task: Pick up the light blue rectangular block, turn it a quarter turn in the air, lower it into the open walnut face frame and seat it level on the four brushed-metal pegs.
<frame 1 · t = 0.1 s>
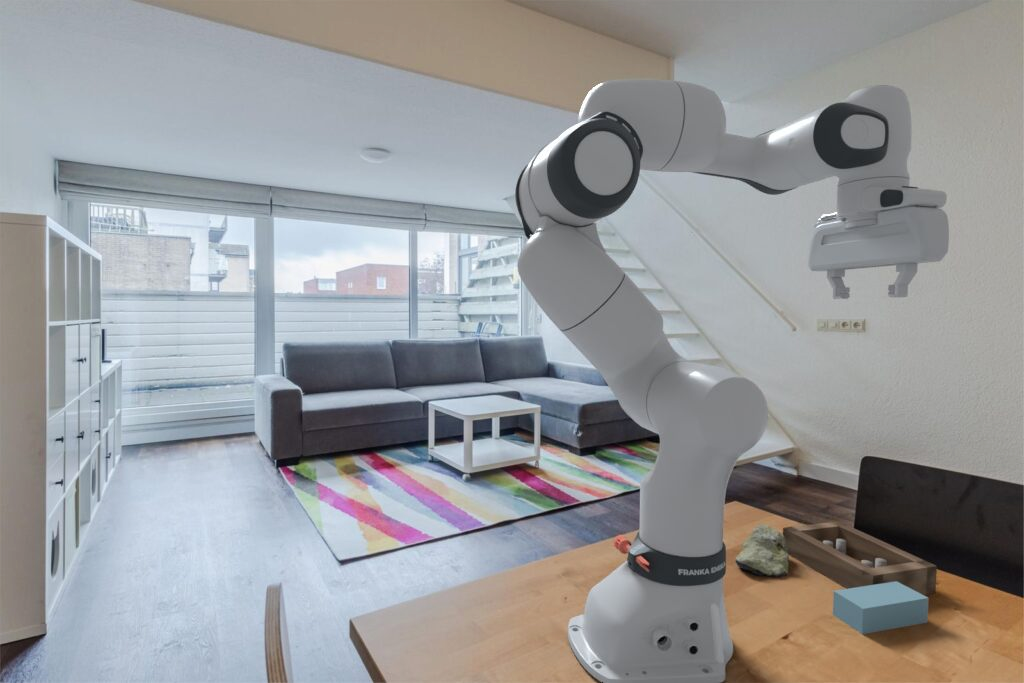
hand: (867, 298, 79), 48 cm above the table, fingers open, 8 cm apart
rock: (761, 565, 97), on the table
light blue rectangular block: (879, 620, 79), on the table
frame: (852, 570, 94), on the table
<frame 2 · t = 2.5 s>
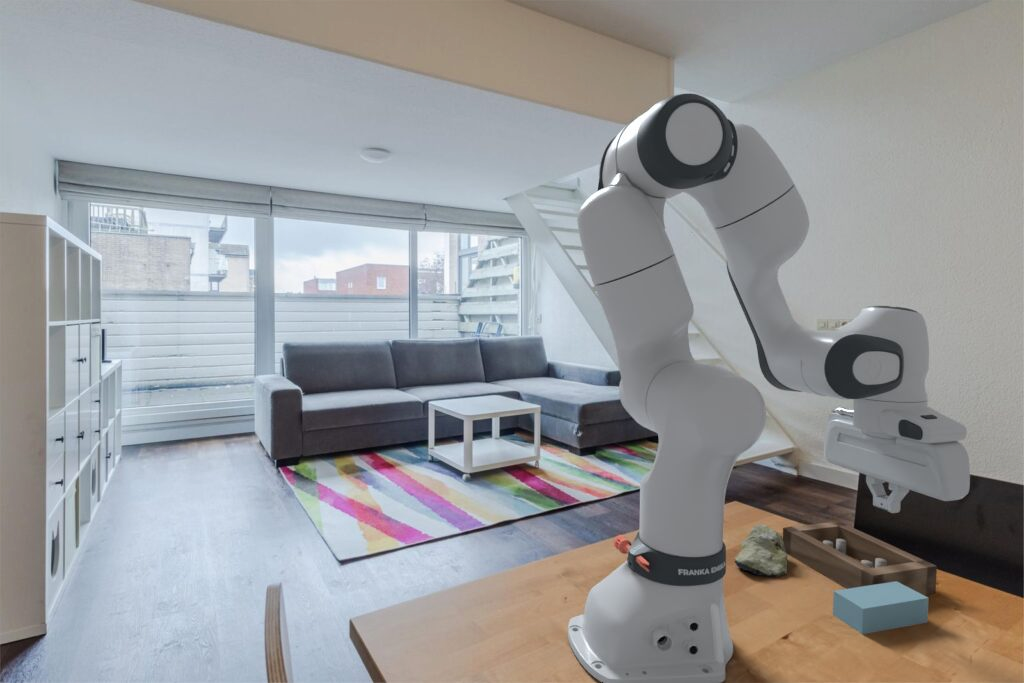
hand: (886, 509, 79), 17 cm above the table, fingers closed
nothing on the table moved.
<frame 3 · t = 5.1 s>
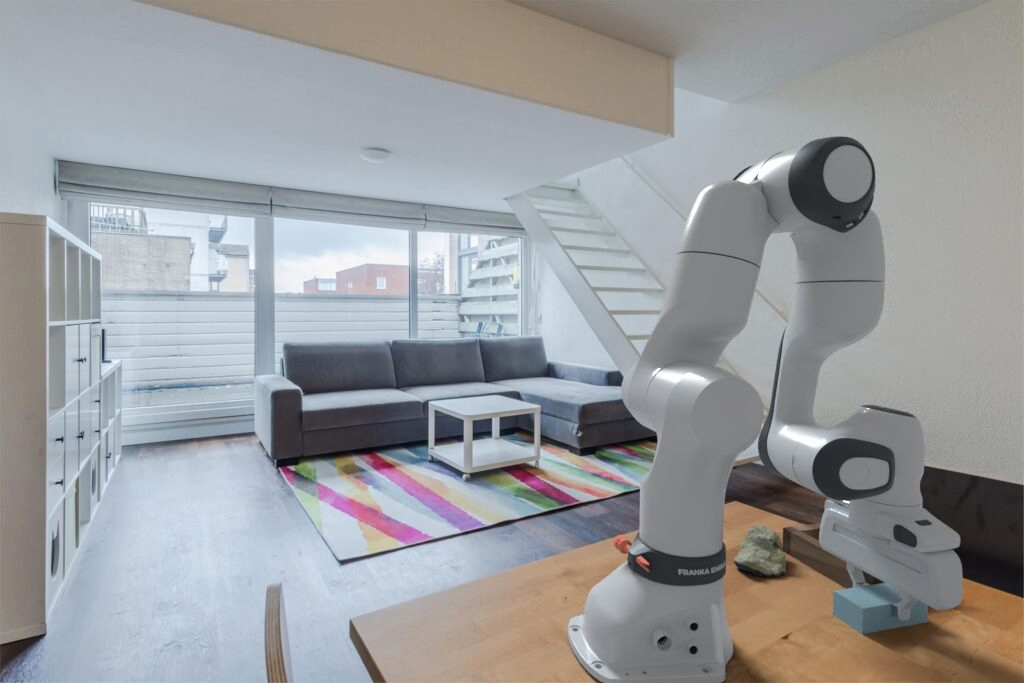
hand: (880, 605, 79), 2 cm above the table, fingers closed on light blue rectangular block, 5 cm apart
light blue rectangular block: (879, 620, 80), on the table, touching gripper
everything else where it was.
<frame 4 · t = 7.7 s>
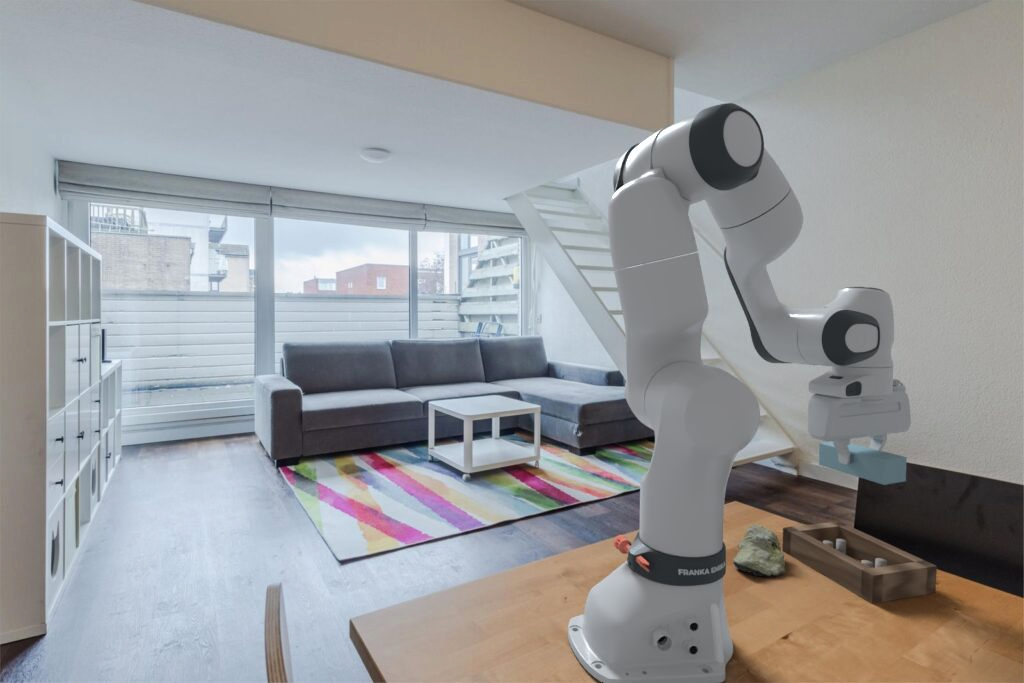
hand: (859, 461, 92), 20 cm above the table, fingers closed on light blue rectangular block, 5 cm apart
light blue rectangular block: (860, 472, 92), point 18 cm above the table, touching gripper
everything else where it was.
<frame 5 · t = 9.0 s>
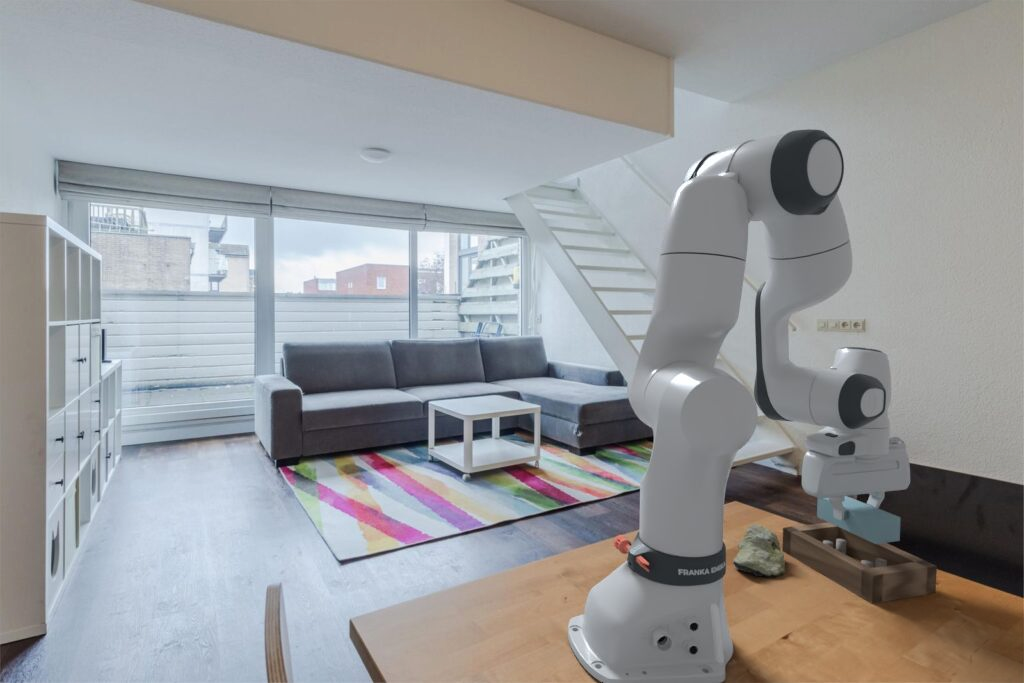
hand: (855, 517, 94), 10 cm above the table, fingers closed on light blue rectangular block, 5 cm apart
light blue rectangular block: (856, 528, 94), point 8 cm above the table, touching gripper
everything else where it was.
when the fingers open (6 cm above the table, at t = 10.0 s): light blue rectangular block drops 1 cm, resting on frame.
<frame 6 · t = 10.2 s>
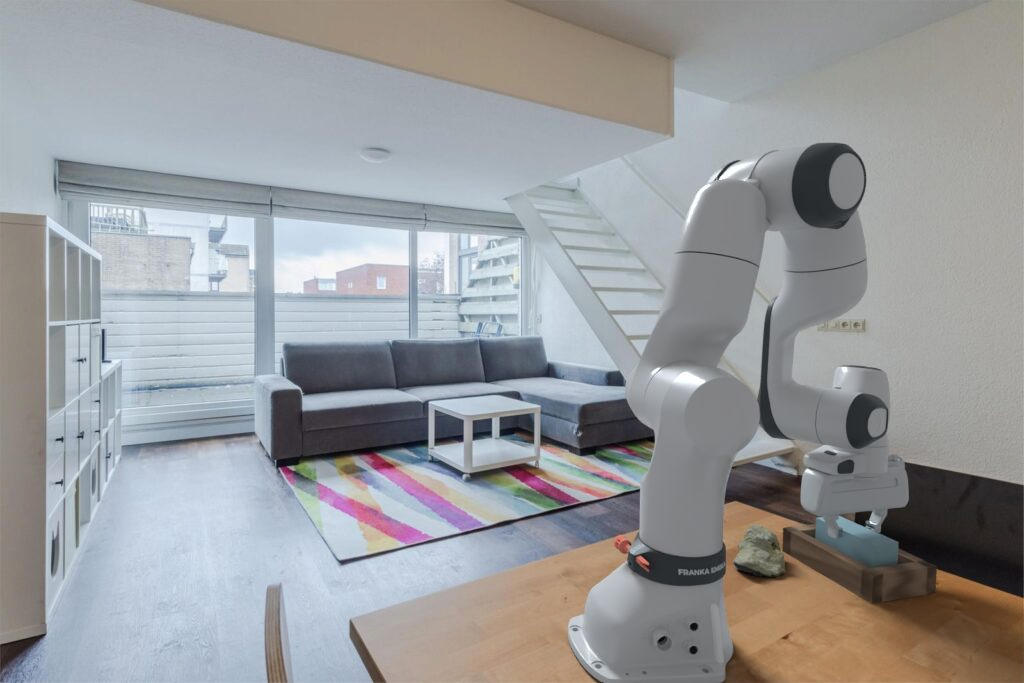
hand: (854, 534, 94), 6 cm above the table, fingers open, 7 cm apart
light blue rectangular block: (854, 551, 94), point 3 cm above the table, touching frame
everything else where it was.
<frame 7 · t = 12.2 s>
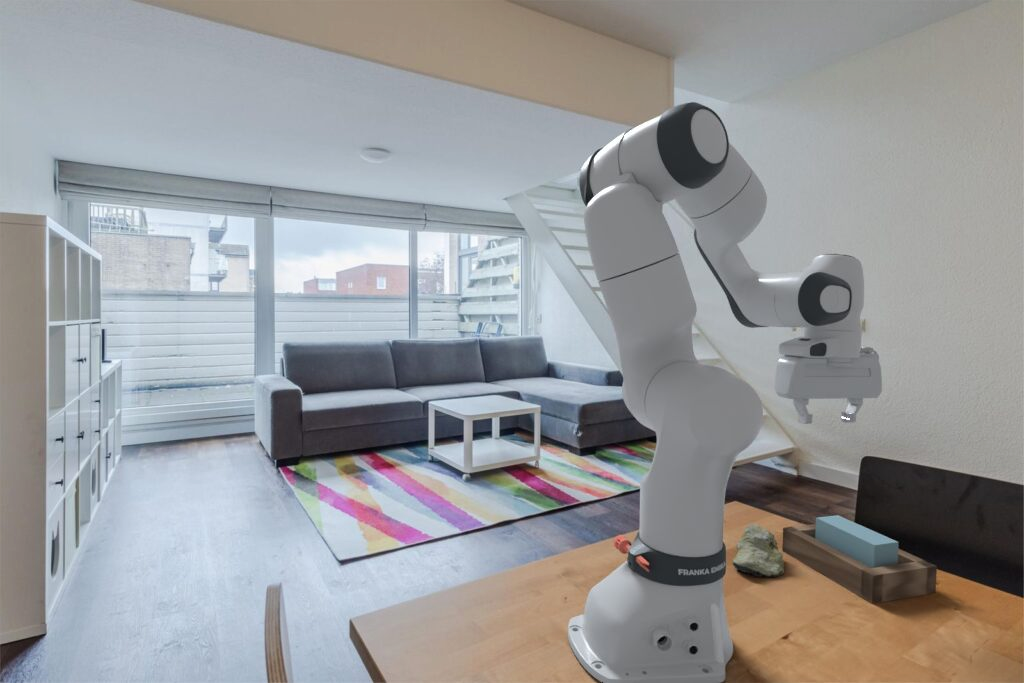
hand: (826, 422, 96), 26 cm above the table, fingers open, 8 cm apart
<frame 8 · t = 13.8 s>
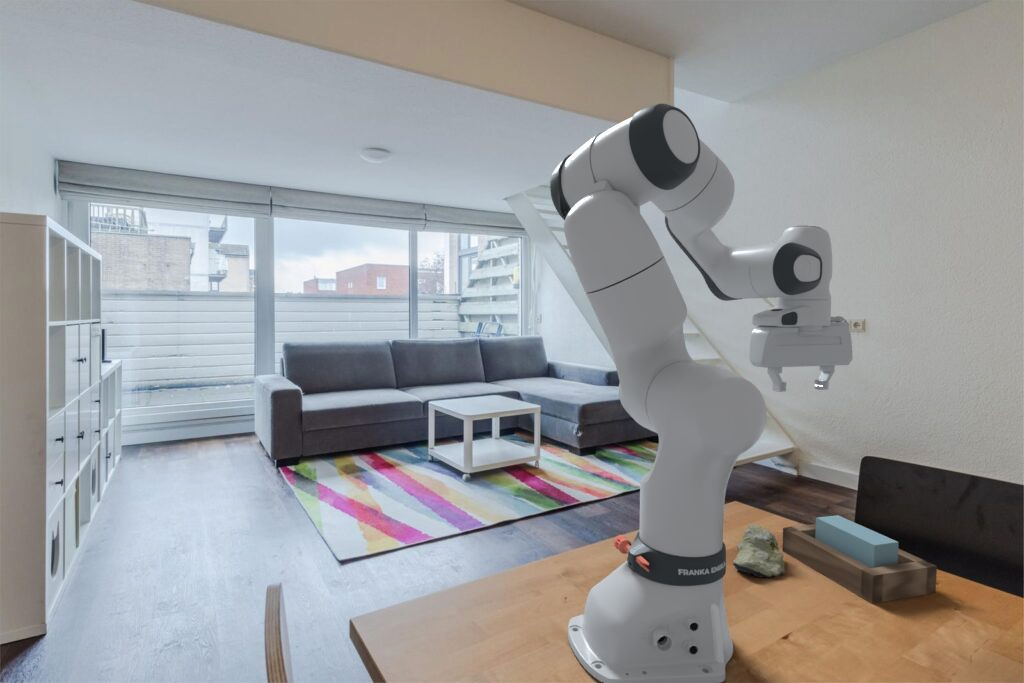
hand: (800, 390, 99), 31 cm above the table, fingers open, 8 cm apart
at the end: light blue rectangular block 0.2 cm off-centre on the frame, point 3.5 cm above the frame's base; light blue rectangular block tilted 0°; the gripper is holding nothing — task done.
